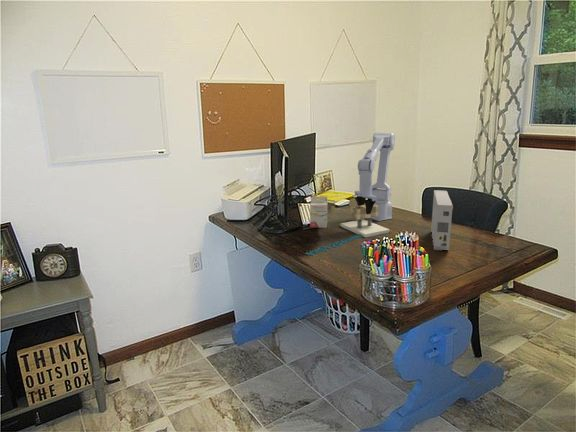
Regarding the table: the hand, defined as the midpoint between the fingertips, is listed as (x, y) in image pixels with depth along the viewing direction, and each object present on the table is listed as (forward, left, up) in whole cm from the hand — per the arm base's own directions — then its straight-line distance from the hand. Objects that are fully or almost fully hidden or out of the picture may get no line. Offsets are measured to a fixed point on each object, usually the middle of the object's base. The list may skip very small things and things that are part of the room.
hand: (364, 212), depth 200 cm
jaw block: (0, 0, -2) cm, 2 cm away
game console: (-17, +31, -9) cm, 36 cm away
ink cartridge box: (+16, -16, -9) cm, 24 cm away
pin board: (0, 0, -8) cm, 8 cm away
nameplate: (+23, +11, -9) cm, 27 cm away
